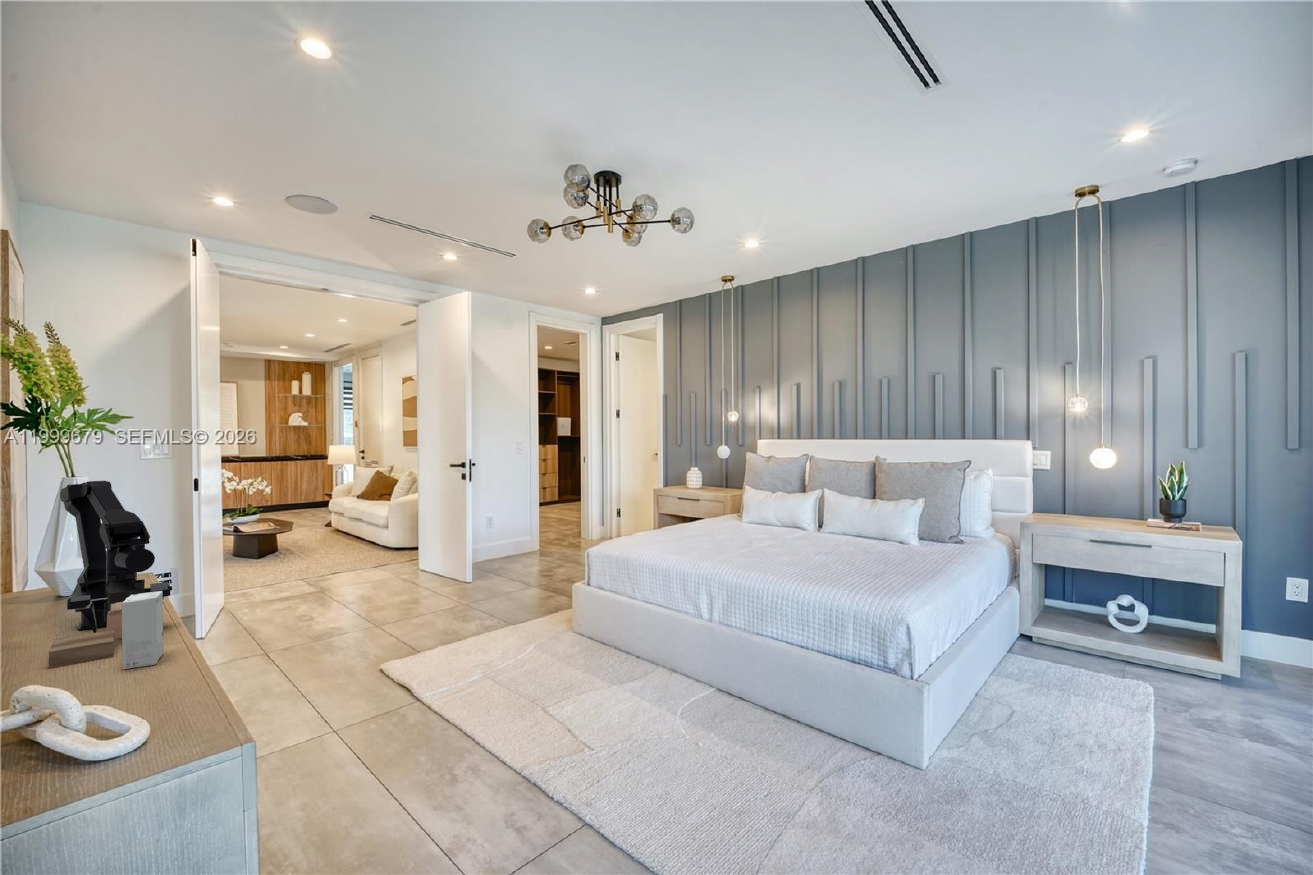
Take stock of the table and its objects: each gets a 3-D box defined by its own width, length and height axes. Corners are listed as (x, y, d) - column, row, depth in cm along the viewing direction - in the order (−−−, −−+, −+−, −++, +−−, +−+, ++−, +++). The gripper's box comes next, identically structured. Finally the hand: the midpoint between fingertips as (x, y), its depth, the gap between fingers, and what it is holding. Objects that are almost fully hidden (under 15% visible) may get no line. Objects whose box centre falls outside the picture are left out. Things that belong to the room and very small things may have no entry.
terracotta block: (107, 635, 142) (107, 611, 142) (134, 630, 145) (134, 607, 145) (106, 640, 138) (107, 616, 138) (134, 635, 142) (134, 612, 142)
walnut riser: (53, 656, 128) (54, 639, 128) (114, 646, 135) (114, 629, 135) (48, 670, 121) (48, 651, 121) (112, 658, 128) (113, 641, 128)
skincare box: (156, 665, 124) (157, 597, 124) (119, 671, 120) (120, 602, 120) (163, 652, 131) (164, 589, 131) (129, 658, 127) (130, 592, 127)
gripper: (65, 579, 130) (64, 646, 130) (171, 567, 142) (170, 629, 142) (69, 570, 138) (68, 634, 138) (169, 560, 150) (169, 618, 150)
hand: (120, 629), depth 142 cm, fingers open, 9 cm apart
